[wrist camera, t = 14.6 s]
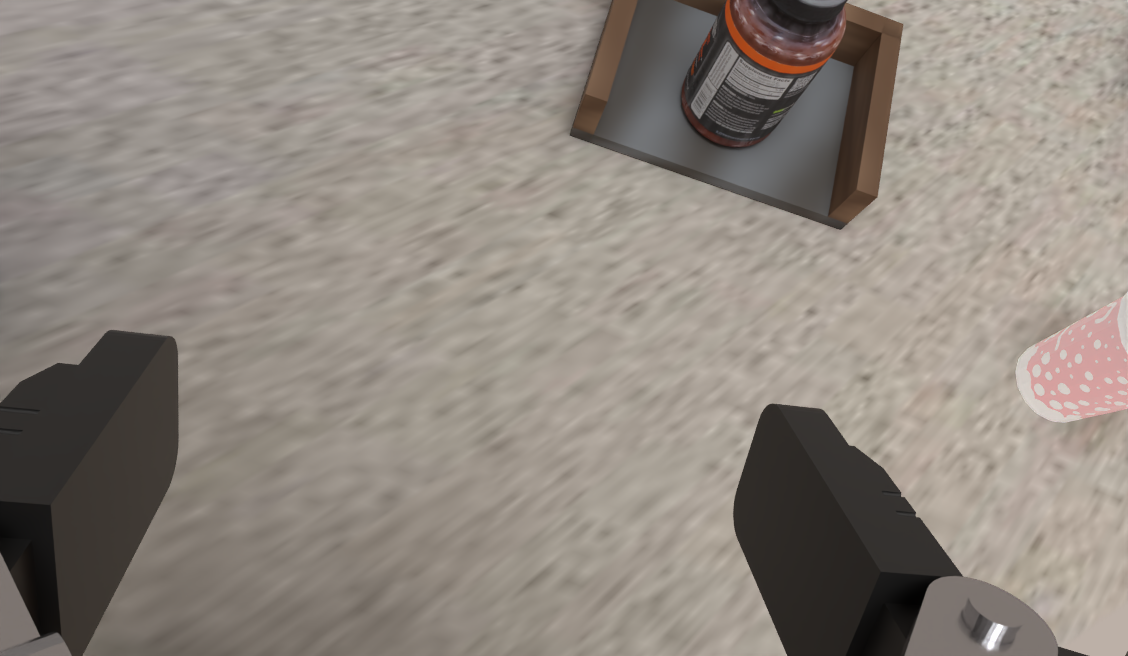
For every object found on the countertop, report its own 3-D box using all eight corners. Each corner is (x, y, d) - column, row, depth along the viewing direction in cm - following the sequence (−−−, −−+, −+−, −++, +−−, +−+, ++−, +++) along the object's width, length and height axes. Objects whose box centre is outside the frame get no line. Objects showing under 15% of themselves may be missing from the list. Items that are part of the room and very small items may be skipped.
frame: (569, 135, 48) (585, 93, 45) (620, -26, 53) (638, -75, 49) (840, 229, 50) (877, 197, 46) (867, 65, 54) (903, 24, 51)
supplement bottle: (706, 45, 51) (790, -106, 41) (791, 100, 51) (897, -38, 41) (658, 113, 49) (734, -28, 39) (747, 171, 49) (847, 45, 39)
